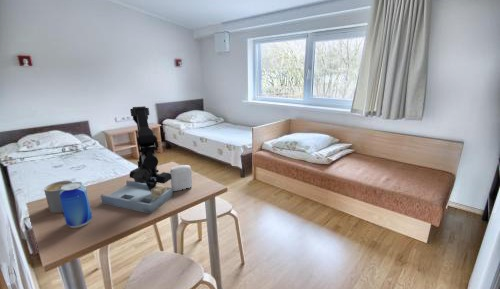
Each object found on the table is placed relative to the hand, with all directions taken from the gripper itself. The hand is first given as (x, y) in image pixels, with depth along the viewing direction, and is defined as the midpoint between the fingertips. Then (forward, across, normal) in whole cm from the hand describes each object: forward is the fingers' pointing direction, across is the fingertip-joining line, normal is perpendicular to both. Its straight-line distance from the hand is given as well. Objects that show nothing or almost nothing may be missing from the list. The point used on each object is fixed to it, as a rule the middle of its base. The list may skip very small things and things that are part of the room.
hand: (152, 192), depth 117 cm
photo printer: (+3, +8, +13) cm, 15 cm away
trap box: (+3, -5, -4) cm, 7 cm away
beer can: (+3, -14, -26) cm, 29 cm away
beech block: (+1, +4, 0) cm, 4 cm away
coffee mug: (+3, -30, -20) cm, 36 cm away
